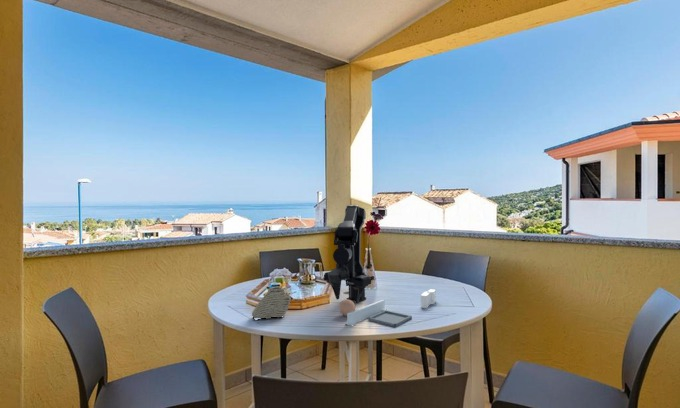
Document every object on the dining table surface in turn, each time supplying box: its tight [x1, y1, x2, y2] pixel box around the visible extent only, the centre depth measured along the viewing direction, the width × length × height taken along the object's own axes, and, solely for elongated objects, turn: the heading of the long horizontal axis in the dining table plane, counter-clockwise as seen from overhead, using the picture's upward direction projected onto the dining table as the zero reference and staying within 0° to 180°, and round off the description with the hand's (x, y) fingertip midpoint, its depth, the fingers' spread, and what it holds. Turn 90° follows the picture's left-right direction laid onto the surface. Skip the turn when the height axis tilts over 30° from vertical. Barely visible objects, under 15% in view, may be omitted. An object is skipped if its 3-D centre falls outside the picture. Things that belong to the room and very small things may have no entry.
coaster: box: [367, 310, 413, 328], centre depth 127 cm, size 11×11×1 cm
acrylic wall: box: [344, 299, 388, 327], centre depth 130 cm, size 3×22×4 cm, turn 140°
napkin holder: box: [420, 288, 437, 309], centre depth 146 cm, size 15×11×6 cm
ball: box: [338, 298, 356, 317], centre depth 132 cm, size 6×6×6 cm
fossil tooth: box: [251, 285, 292, 319], centre depth 132 cm, size 12×6×15 cm
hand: (347, 301), depth 132 cm, fingers open, 9 cm apart
